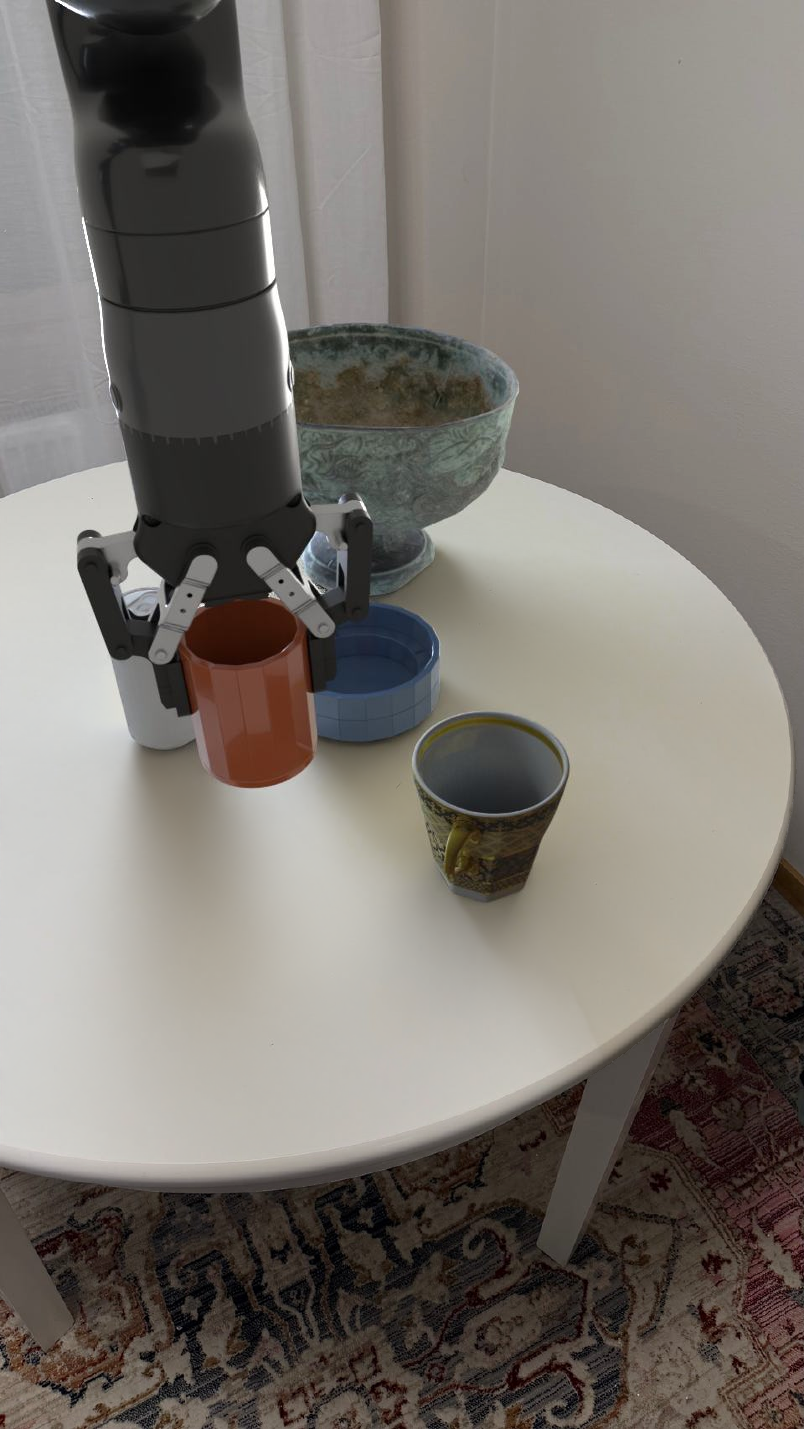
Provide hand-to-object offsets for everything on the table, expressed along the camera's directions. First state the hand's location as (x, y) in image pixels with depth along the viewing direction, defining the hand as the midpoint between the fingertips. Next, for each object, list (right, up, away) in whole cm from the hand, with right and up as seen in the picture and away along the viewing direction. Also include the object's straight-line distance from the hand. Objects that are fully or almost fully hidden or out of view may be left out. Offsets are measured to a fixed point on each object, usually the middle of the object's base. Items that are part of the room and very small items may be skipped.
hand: (250, 694), depth 54 cm
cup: (0, -3, +2) cm, 4 cm away
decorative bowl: (+5, +15, +48) cm, 51 cm away
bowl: (+5, +1, +31) cm, 32 cm away
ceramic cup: (+13, -13, +16) cm, 24 cm away
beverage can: (-11, -2, +29) cm, 31 cm away
